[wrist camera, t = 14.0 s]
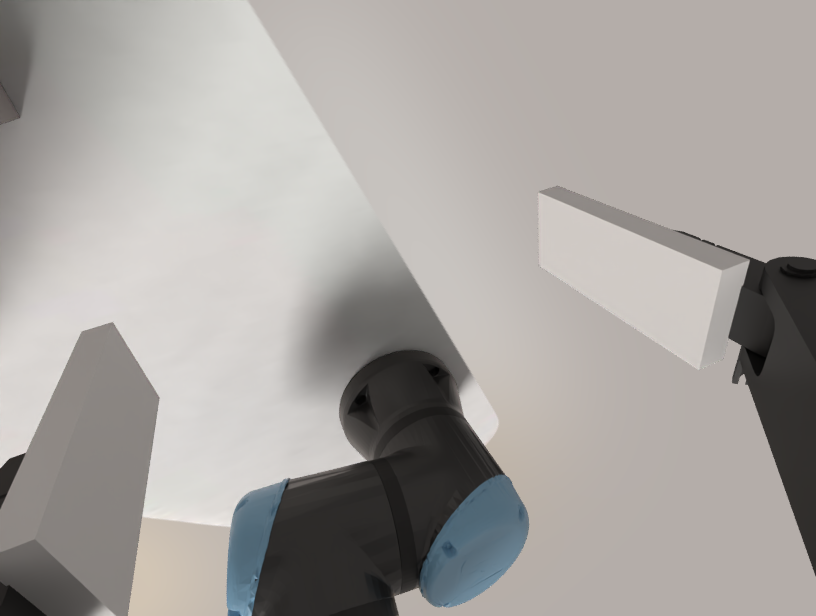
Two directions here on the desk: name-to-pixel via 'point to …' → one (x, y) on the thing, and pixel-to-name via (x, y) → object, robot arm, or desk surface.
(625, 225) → the robot arm
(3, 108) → the riser block
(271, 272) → the desk surface
